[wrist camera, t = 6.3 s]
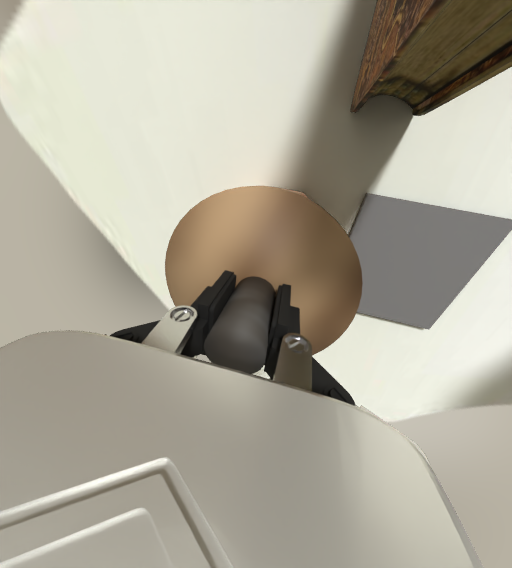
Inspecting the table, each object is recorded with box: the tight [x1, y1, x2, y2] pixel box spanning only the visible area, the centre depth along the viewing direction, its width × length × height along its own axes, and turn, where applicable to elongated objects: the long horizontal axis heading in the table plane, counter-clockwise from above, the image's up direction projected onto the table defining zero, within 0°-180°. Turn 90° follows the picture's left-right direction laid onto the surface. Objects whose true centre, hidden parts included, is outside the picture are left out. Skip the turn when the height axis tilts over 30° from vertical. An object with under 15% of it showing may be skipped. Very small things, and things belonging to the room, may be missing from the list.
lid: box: [165, 186, 363, 374], centre depth 11 cm, size 13×13×6 cm
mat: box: [349, 193, 512, 329], centre depth 22 cm, size 14×14×1 cm
